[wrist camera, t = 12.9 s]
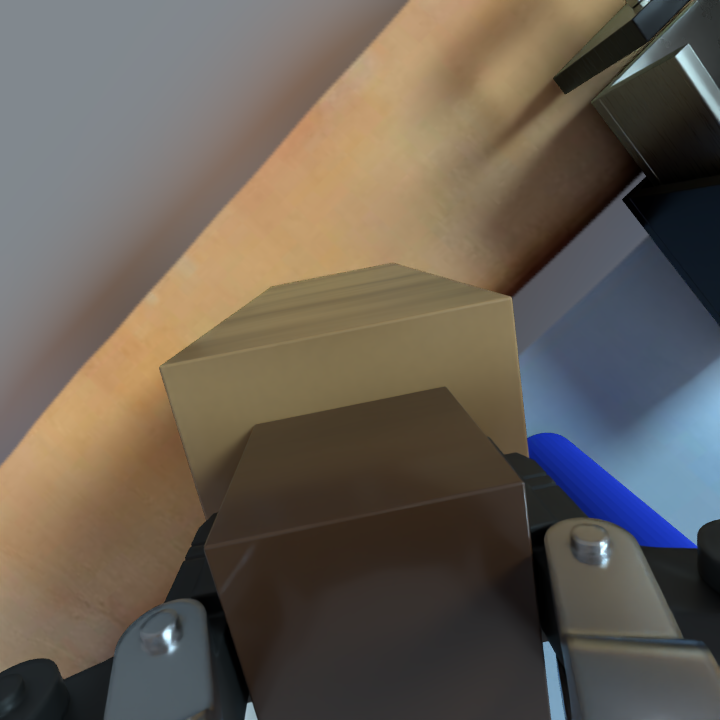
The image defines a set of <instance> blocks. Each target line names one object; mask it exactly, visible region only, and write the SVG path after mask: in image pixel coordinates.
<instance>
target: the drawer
mask: <svg viewBox="0 0 720 720" xmlns="http://www.w3.org/2000/svg"><path fill="white" fill-rule="evenodd" d="M689 1H690V0H626V2H627V4H626V5H625V6H624V7H623V8H622V9H621V10H620V11H619V12H618V13H617V14H616V15H615V16H614V17H613V18H612V19H611V20H610V21H609V22H608V23H607V24H606V25H605V26H604V27H603V28H602V29H601V30H600V31H599V32H598V33H597V34H596V35H595V36H594V37H593V38H592V39H591V40H590V41H589V42H588V43H587V44H586V45H585V46H584V47H583V48H582V49H581V50H580V51H579V52H578V53H577V54H576V55H575V56H574V57H573V58H572V59H571V60H570V61H569V62H568V63H567V64H566V65H565V66H564V67H563V68H562V69H561V70H560V71H559V73H558V74H557V75H556V76H555V77H554V78H553V79H554V81H555V82H556V83H557V85H558V86H559V87H560V89H561V90H562V91H563V92H564V94H567V93H569V92H570V91H572V90H574V89H575V88H577V87H578V86H580V85H581V84H583V83H584V82H586V81H588V80H589V79H591V78H592V77H594V76H595V75H597V74H599V73H600V72H602V71H603V70H605V69H606V68H608V67H610V66H611V65H613V64H614V63H616V62H617V61H619V60H621V59H622V58H624V57H625V56H627V55H628V54H630V53H631V52H633V51H635V50H636V49H638V48H639V47H641V46H642V45H644V44H646V43H647V42H648V41H649V40H650V39H651V38H652V37H654V36H655V35H656V34H657V33H658V32H659V31H660V30H661V29H662V28H663V27H664V26H665V25H666V24H667V23H668V22H669V21H670V20H671V19H672V18H673V17H674V16H675V15H676V14H677V13H678V12H679V11H680V10H681V9H682V8H683V7H684V6H685V5H686V4H687V3H688V2H689ZM591 103H592V104H593V106H594V107H595V108H596V110H597V111H598V112H599V114H600V115H601V116H602V118H603V119H604V120H605V122H606V123H607V124H608V126H609V127H610V128H611V130H612V131H613V132H614V134H615V135H616V136H617V138H618V139H619V140H620V142H621V143H622V144H623V146H624V147H625V148H626V150H627V151H628V152H629V154H630V155H631V156H632V158H633V159H634V160H635V162H636V163H637V164H638V166H639V167H640V168H641V170H642V171H643V172H644V174H645V175H646V176H647V178H648V179H649V180H650V182H651V183H652V184H653V186H654V187H655V186H660V185H666V184H671V183H677V182H683V181H688V180H694V179H699V178H705V177H710V176H716V175H720V0H694V1H692V2H691V3H690V4H689V5H688V6H687V7H686V8H685V9H684V10H683V11H682V12H681V13H680V14H679V15H678V16H677V17H676V18H675V19H674V20H673V21H672V22H671V23H670V24H669V25H668V26H667V27H666V28H665V29H664V30H663V31H662V32H661V33H660V34H659V35H658V36H657V37H656V38H655V39H654V40H653V41H652V42H651V43H650V44H649V45H648V46H647V47H646V48H645V49H644V50H643V51H642V52H641V53H640V54H639V55H638V56H637V57H636V58H635V59H634V60H633V61H632V62H631V63H630V64H629V65H628V66H627V67H626V68H625V69H624V70H623V71H622V72H621V73H620V74H619V75H618V76H617V77H616V78H615V79H614V80H613V81H612V82H611V83H610V84H609V85H608V86H607V87H606V88H605V89H604V90H603V91H602V92H601V93H600V94H599V95H598V96H597V97H596V98H595V99H594V100H592V102H591Z"/></svg>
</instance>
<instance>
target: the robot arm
mask: <svg viewBox="0 0 720 720" xmlns="http://www.w3.org/2000/svg"><path fill="white" fill-rule="evenodd" d="M488 438H489V440H490V441H491V442H492V443H493V444H494V446H495V447H496V448H497V449H498V451H499V452H500V453H501V454H502V455H503V457H504V458H505V459H506V460H507V462H508V463H509V464H510V465H511V467H512V468H513V469H514V470H515V471H516V473H517V474H518V475H519V476H520V478H521V479H522V480H523V481H524V483H525V490H526V499H527V508H528V517H529V526H530V535H531V544H532V553H533V561H534V570H535V579H536V588H537V597H538V606H539V615H540V624H541V633H542V642H546V641H549V642H550V644H551V646H552V648H553V650H554V652H555V653H556V661H557V671H558V678H559V684H560V690H561V696H562V703H563V709H564V715H565V720H720V519H719V520H714V521H711V522H709V523H707V524H705V525H703V526H702V527H701V528H700V529H699V531H698V534H697V548H667V547H648V546H641V545H639V543H638V542H637V540H636V538H635V537H634V536H633V535H632V534H631V533H630V532H628V531H627V530H626V529H624V528H622V527H620V526H619V525H616V524H614V523H611V522H608V521H605V520H601V519H596V518H589V517H588V516H587V515H586V514H585V513H584V512H583V511H582V510H581V509H580V508H579V507H578V506H577V505H576V504H575V502H574V501H573V500H572V499H571V498H570V497H569V496H568V495H567V494H566V493H565V492H564V491H563V490H562V489H561V488H560V487H559V486H558V485H556V482H555V481H554V480H553V479H552V478H551V477H550V476H549V475H547V474H546V472H545V471H544V470H543V469H542V468H541V467H540V465H539V464H538V463H537V462H536V461H535V460H533V459H530V458H528V457H526V456H524V455H521V454H519V453H517V452H515V453H510V454H505V455H504V454H503V453H502V451H501V450H500V449H499V448H498V447H497V445H496V444H495V443H494V442H493V441H492V439H491V438H490V437H488ZM217 514H218V512H217V513H214V514H213V515H212V516H211V517H210V518H209V519H208V520H207V521H206V522H205V523H204V524H203V525H202V526H201V527H200V528H199V529H198V531H197V533H196V535H195V537H194V540H193V542H192V544H191V545H192V547H190V548H189V550H188V553H187V555H186V557H185V561H183V563H182V566H181V568H180V570H179V572H178V574H177V576H176V579H175V581H174V583H173V585H172V587H171V589H170V592H169V594H168V596H167V598H166V600H165V602H164V603H163V604H161V605H159V606H156V607H155V608H153V609H151V610H149V611H148V612H146V613H145V614H143V615H142V616H140V617H139V618H138V619H137V620H136V621H134V622H133V623H132V624H131V625H130V626H129V627H128V628H127V630H126V631H125V632H124V633H123V635H122V636H121V638H120V639H119V641H118V643H117V645H116V649H115V653H114V657H112V658H110V659H108V660H106V661H104V662H102V663H99V664H97V665H95V666H93V667H91V668H88V669H86V670H84V671H82V672H79V673H77V674H75V675H73V676H71V677H68V678H66V679H64V680H63V679H62V676H61V674H60V672H59V669H58V667H57V665H56V664H55V663H54V661H52V660H49V659H44V658H43V659H33V660H29V661H25V662H22V663H20V664H17V665H15V666H12V667H10V668H9V669H7V670H5V671H3V672H1V673H0V720H244V719H245V713H246V708H247V703H250V702H252V701H251V697H250V694H249V691H248V688H247V685H246V682H245V679H244V675H243V672H242V669H241V666H240V663H239V660H238V656H237V653H236V650H235V647H234V644H233V641H232V638H231V634H230V631H229V628H228V625H227V622H226V619H225V615H224V612H223V609H222V606H221V603H220V600H219V597H218V593H217V590H216V587H215V584H214V581H213V578H212V574H211V571H210V568H209V565H208V562H207V559H206V556H205V552H204V545H205V543H206V540H207V538H208V535H209V533H210V531H211V528H212V526H213V523H214V521H215V519H216V516H217Z"/></svg>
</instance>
